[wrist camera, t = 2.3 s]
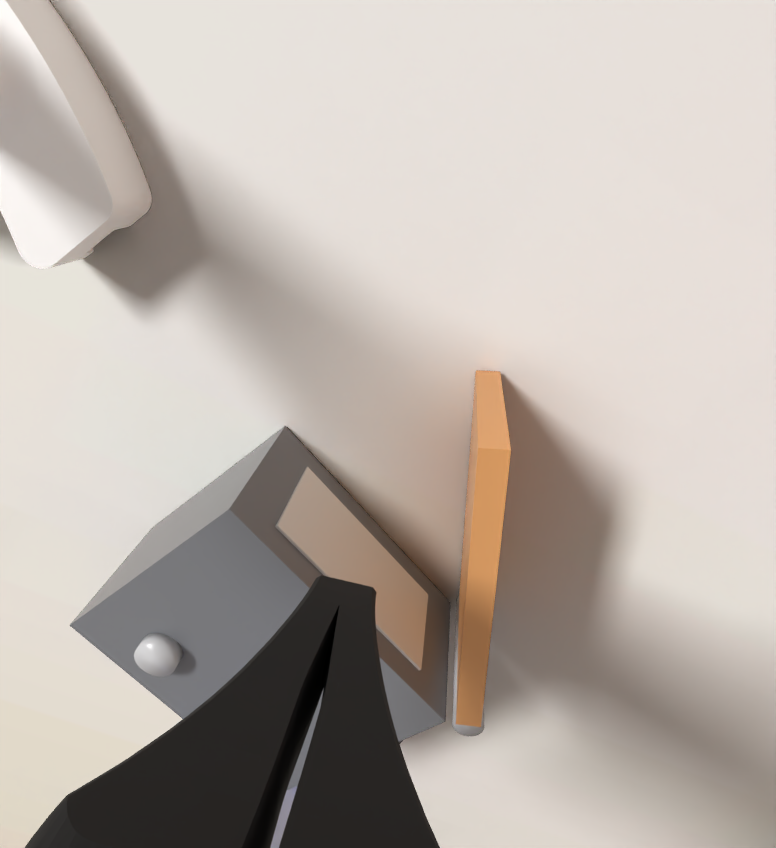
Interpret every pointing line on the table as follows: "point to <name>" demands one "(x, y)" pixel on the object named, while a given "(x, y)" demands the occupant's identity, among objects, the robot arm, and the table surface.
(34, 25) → the joystick
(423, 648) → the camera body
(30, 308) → the table surface
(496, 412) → the side door
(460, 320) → the table surface
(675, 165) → the table surface
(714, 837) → the table surface
